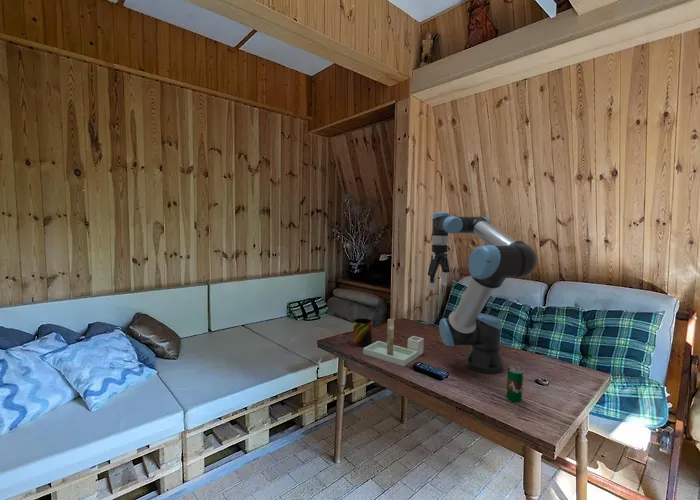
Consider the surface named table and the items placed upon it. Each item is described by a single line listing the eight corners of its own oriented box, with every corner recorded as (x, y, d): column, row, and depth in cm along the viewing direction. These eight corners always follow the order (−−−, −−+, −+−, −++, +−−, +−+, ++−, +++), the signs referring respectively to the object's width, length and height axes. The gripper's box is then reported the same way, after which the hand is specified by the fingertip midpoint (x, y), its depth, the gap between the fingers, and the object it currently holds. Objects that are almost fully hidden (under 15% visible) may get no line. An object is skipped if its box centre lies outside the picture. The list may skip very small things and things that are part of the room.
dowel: (394, 354, 161) (395, 319, 160) (391, 356, 159) (391, 321, 157) (389, 353, 163) (389, 318, 162) (385, 355, 161) (386, 320, 159)
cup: (423, 354, 165) (423, 338, 164) (417, 358, 160) (418, 341, 160) (412, 351, 168) (413, 335, 167) (407, 355, 164) (407, 339, 163)
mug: (359, 336, 189) (359, 315, 188) (375, 344, 177) (375, 321, 176) (345, 340, 183) (345, 318, 182) (360, 348, 172) (361, 325, 171)
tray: (417, 358, 160) (417, 351, 159) (403, 368, 149) (404, 360, 149) (378, 347, 173) (378, 340, 173) (363, 355, 163) (363, 348, 163)
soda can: (517, 395, 127) (518, 364, 126) (524, 403, 122) (526, 370, 121) (503, 395, 127) (505, 364, 126) (510, 403, 122) (512, 370, 121)
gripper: (442, 242, 178) (441, 282, 180) (421, 245, 159) (420, 290, 161) (456, 243, 174) (455, 284, 176) (436, 246, 154) (434, 292, 156)
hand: (438, 287), depth 168 cm, fingers open, 13 cm apart
